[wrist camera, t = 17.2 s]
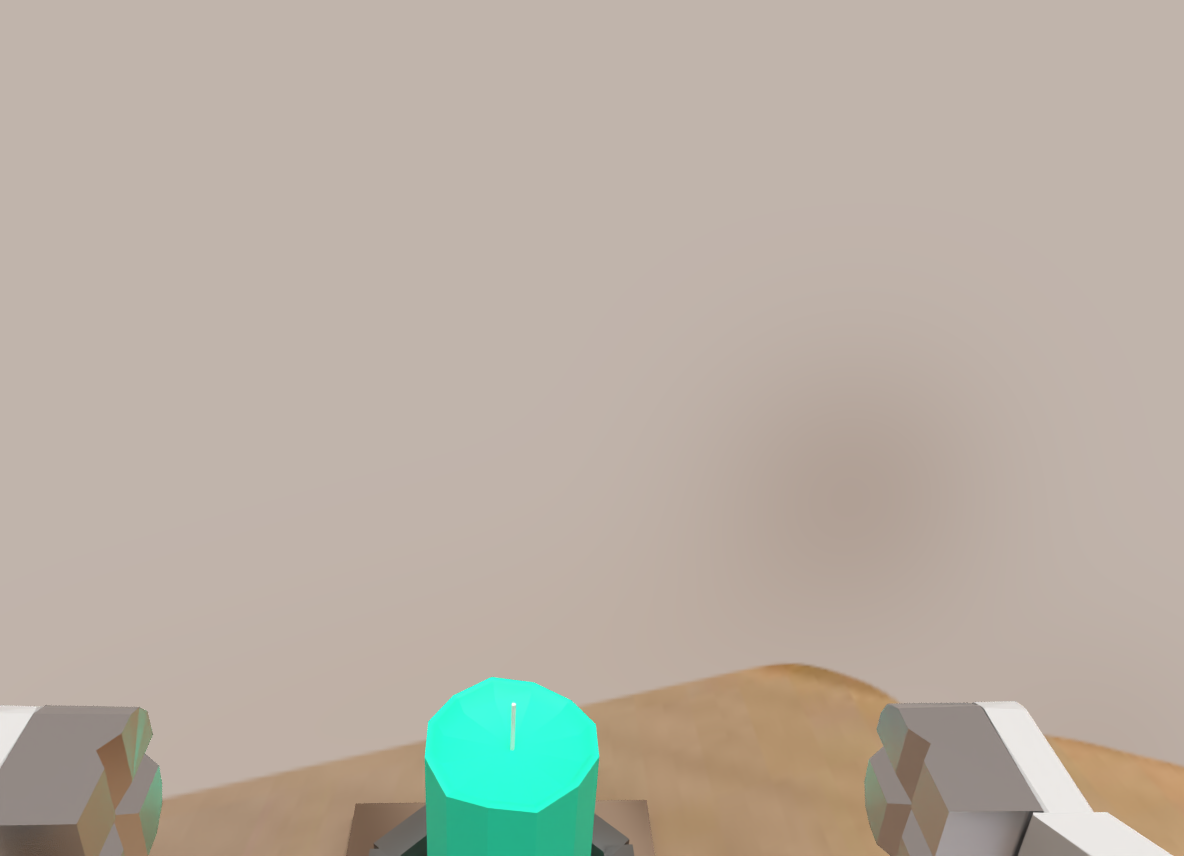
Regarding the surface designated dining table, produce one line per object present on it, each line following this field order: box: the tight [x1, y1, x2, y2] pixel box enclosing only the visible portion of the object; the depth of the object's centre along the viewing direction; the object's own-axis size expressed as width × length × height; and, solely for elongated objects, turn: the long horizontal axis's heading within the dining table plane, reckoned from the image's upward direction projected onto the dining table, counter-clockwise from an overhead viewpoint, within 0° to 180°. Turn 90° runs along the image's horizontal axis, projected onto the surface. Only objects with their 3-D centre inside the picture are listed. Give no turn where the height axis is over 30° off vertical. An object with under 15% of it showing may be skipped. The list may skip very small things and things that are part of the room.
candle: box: [425, 677, 599, 856], centre depth 35 cm, size 6×6×12 cm
